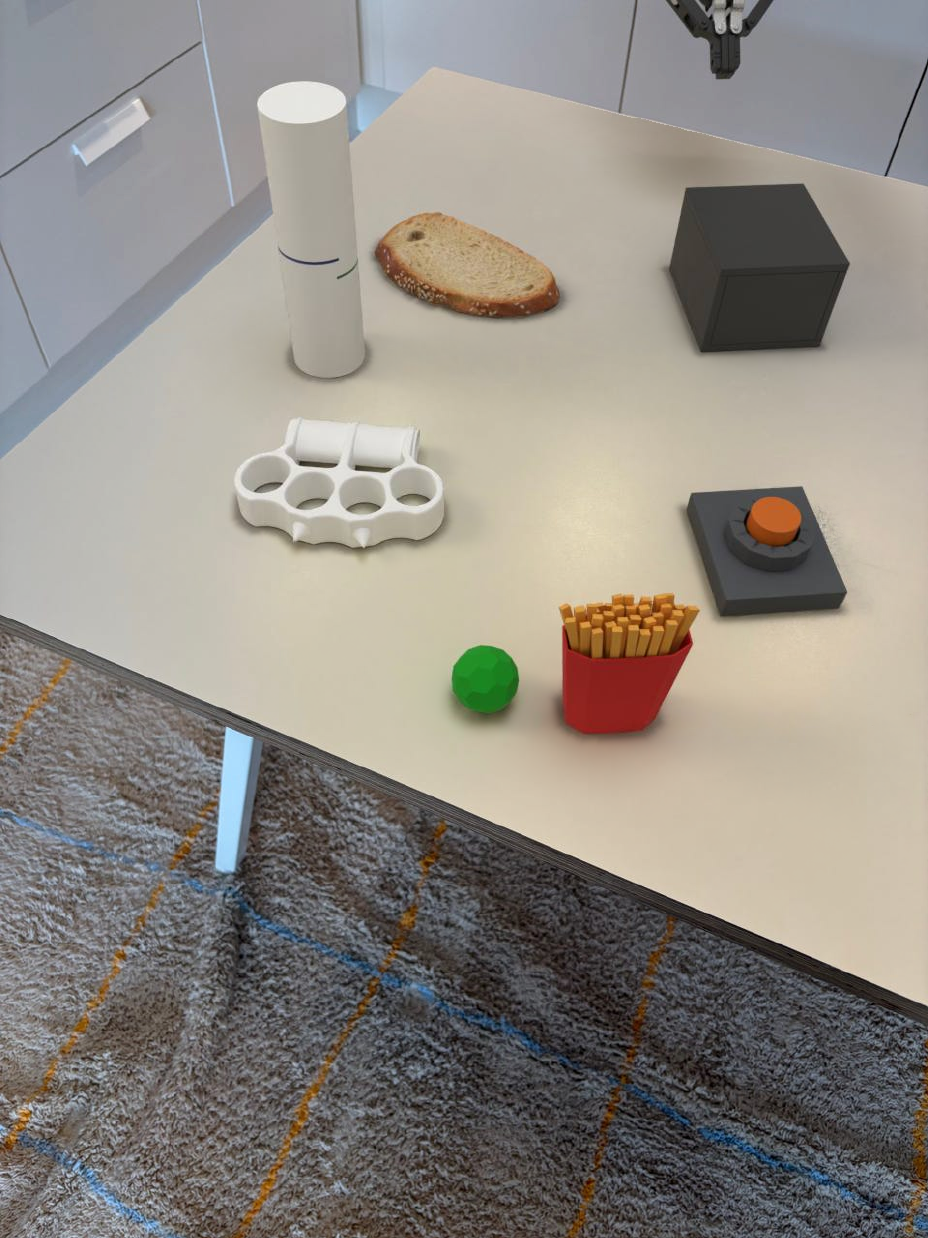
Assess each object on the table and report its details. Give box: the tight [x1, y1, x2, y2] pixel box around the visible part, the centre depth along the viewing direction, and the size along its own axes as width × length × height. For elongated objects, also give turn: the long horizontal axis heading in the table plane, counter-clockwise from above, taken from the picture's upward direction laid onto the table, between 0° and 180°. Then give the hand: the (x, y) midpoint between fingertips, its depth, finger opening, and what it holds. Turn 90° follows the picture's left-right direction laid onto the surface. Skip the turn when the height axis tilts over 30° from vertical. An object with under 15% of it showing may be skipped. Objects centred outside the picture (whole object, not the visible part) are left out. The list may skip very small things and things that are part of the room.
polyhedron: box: [451, 644, 520, 714], centre depth 74 cm, size 5×5×5 cm
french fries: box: [558, 592, 701, 735], centre depth 70 cm, size 9×4×13 cm, turn 94°
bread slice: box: [374, 211, 561, 319], centre depth 108 cm, size 18×18×4 cm
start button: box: [747, 497, 801, 546], centre depth 81 cm, size 4×4×2 cm
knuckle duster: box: [233, 416, 445, 549], centre depth 87 cm, size 3×18×15 cm
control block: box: [686, 485, 848, 617], centre depth 83 cm, size 12×10×4 cm
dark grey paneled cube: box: [668, 183, 851, 353], centre depth 103 cm, size 15×13×10 cm
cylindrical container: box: [256, 80, 366, 379], centre depth 90 cm, size 7×7×25 cm
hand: (725, 76), depth 107 cm, fingers closed
